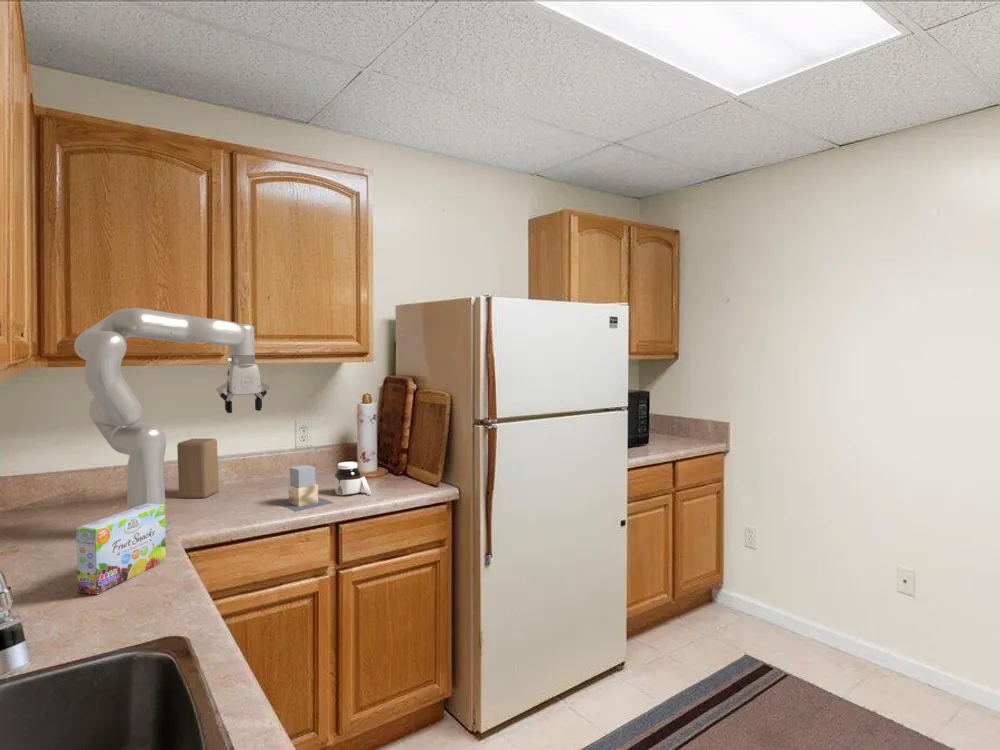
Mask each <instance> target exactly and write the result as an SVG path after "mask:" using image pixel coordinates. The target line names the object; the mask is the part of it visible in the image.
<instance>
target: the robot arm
mask: <svg viewBox="0 0 1000 750" xmlns="http://www.w3.org/2000/svg"><path fill="white" fill-rule="evenodd" d="M129 338H141V339H150V340H158V341H167V342H172V343H173V342H174V343H175V342H176V343H187V344H188V343H192V344H193V343H208V345H211V346H214V347H226V346H227V347H228V346H229V348H230V354H229V357H226V362H228V363H229V365H228V368H227V371H226V372H227V373H226V374H227V375H226V382H225V383H223V384H221V385H219V386H218V387H216V388H215V391H216V392H217V394H218V396H219V397H220V398H221V399H222V400H223V401H224V410H225V412H226V413H227V414H232V413H233V401H232V398H233V397H234V396H243V395H244V396H247V395H254V396H255V399H254V410H255V411H259V412H260V411H262V408H263V399H264V397H265V396H266V395H267V394H268V390H269V389H270V385H269V384H267V383H264V382H262V381H261V375H260V374H261V373H260V368H259V365H258V364H256V357H255V356H256V353H255V327H254V325H252V324H250V323H247V324H246V323H238V322H234V321H230V320H224V319H223V320H222V319H215V318H209V317H208V318H207V317H201V316H194V315H187V314H180V313H173V312H166V311H161V310H155V309H148V308H143V307H142V308H141V307H136V308H135V307H131V308H121V309H118V310H116V311H114V312H112V313H110V314H109V315H107V316H106V317H105V318H103V319H101V320H99V321H98V322H97V323H95V324H94V325H92V326H91V327H89V328H87V329H86V330H84V331H83V332H82V333H80V334H79V335H78V336H77V337H76V339H75V340H74V345H73V348H74V351H75V353H76V354H77V356H78V357H79V358H81V359H82V360H85V361H86V363H85V367H84V381H85V384H86V386H87V388H88V390H89V391H90V393H91V394H92V396H93V398H92V399H91V401H90V403H89V407H88V410H89V411H88V412H89V417H90V418H91V421H92V422H93V423H94V425H95V426H96V428H97V429H98V431H99V432H100V433H101V436H103V438H104V439H105V441H106V442H107V443H108V445H109V446H110V447H111V448H112V449H113V450H114V451H115V452H117V453H119V454H122V455H123V454H124V455H128V461H127V463H126V464H127V465H126V471H125V474H126V475H125V479H126V498H127V500H126V501H127V510H129V509H132V508H135V507H138V506H141V505H144V504H147V503H148V504H165V505H166V491H165V490H166V489H165V487H166V486H165V465H164V464H165V454H166V446H167V437H166V435H165V433H164V431H163V430H162V429H160V428H159V426H156V425H153V424H148V423H139V421H140V420H141V419H142V417H143V413H144V412H143V407H142V405H141V403H140V401H139V400H138V398H137V397H136V396H135V394H134V392H133V391H132V390H131V388H130V386H129V384H128V383H127V382H126V380H125V378H124V376H123V375H122V370H121V367H122V361H123V358H124V357H125V355H126V352H127V347H128V346H127V345H128V344H127V341H126V340H128V339H129ZM224 389H226V390H225V391H226V393H227V394H225V393H224ZM166 513H167V512H166V508H165V533H167V532H169V531H171V529H172V528H173V523H172V522H170V521H167V514H166Z"/></svg>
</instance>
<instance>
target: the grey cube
mask: <svg viewBox="0 0 1000 750" xmlns="http://www.w3.org/2000/svg"><path fill="white" fill-rule="evenodd" d="M289 478H290V479H289V483H290V484H289V485H291V486H294V487H297V488H302V487H307V486H312V485H316V467H315V466H311V465H308V464H304V465H298V466H292V467H289Z"/></svg>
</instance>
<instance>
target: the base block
mask: <svg viewBox="0 0 1000 750" xmlns="http://www.w3.org/2000/svg"><path fill="white" fill-rule="evenodd" d="M287 488H288V499H289V503H291V504H294V505H296V506H304V505H308V504H313V503H318V497H319V485H318V484H316V485H312V486H307V487H302V488H297V487H294V486H291V485H290V484H289V485H288V487H287Z"/></svg>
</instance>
